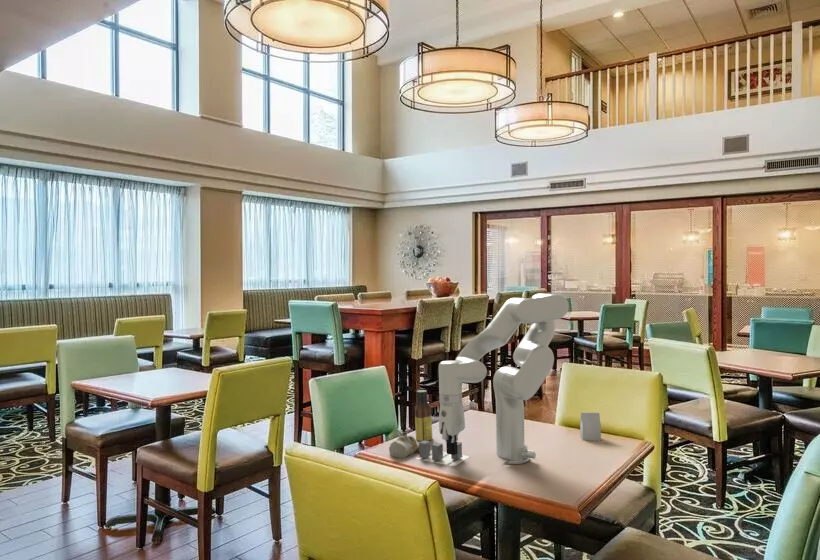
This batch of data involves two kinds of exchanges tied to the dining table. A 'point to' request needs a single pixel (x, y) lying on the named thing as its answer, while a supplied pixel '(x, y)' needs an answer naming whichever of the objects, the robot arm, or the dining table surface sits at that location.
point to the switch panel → (444, 459)
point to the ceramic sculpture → (403, 446)
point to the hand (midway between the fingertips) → (452, 453)
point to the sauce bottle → (423, 417)
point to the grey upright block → (590, 426)
